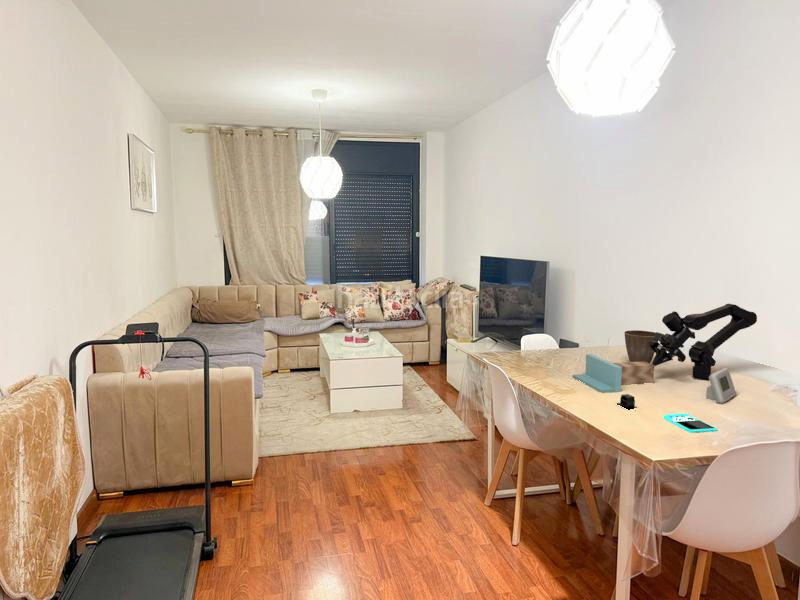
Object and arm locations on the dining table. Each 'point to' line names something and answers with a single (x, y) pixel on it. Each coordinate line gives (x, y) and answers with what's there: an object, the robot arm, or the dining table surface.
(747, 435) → the dining table surface
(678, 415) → the handheld game console
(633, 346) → the plant pot
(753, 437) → the dining table surface
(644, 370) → the walnut block
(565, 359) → the dining table surface
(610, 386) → the teal board
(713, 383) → the digital clock
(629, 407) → the black block on plate
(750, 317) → the robot arm
